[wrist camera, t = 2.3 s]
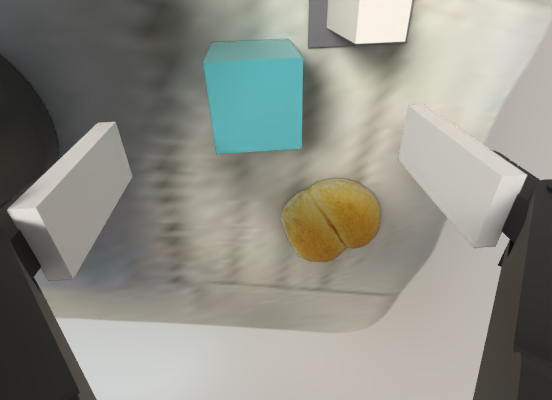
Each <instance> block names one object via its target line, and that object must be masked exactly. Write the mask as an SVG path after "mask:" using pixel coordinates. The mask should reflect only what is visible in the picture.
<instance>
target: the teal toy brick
mask: <svg viewBox="0 0 552 400" xmlns="http://www.w3.org/2000/svg"><path fill="white" fill-rule="evenodd" d="M203 66H204V73H205V80H206V87H207V94H208V100H209V107H210V114H211V121H212V128H213V135H214V142H215V149H216V154H225V153H240V152H256V151H271V150H287V149H302V100H303V57H302V55H301V54H300V53H299V52H298V50H297V49H296V48H295V47H294V45H293V44H292V43H291V42H290V40H289V39H271V40H249V41H227V42H212V44H211V46H210V48H209V50H208V53H207V55H206V57H205V59H204V61H203Z"/></svg>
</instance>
